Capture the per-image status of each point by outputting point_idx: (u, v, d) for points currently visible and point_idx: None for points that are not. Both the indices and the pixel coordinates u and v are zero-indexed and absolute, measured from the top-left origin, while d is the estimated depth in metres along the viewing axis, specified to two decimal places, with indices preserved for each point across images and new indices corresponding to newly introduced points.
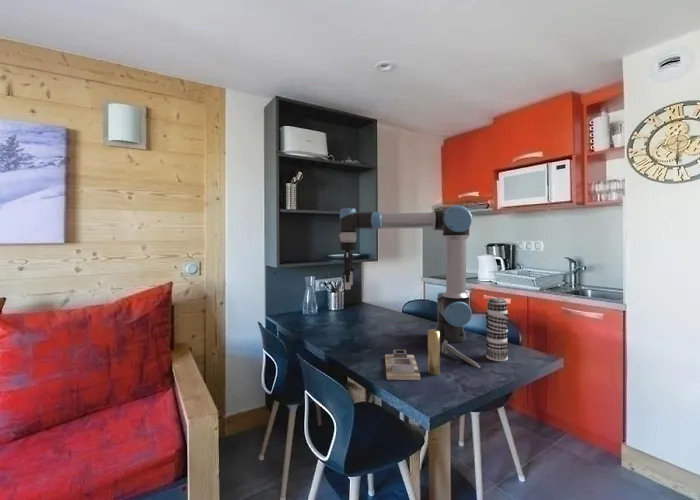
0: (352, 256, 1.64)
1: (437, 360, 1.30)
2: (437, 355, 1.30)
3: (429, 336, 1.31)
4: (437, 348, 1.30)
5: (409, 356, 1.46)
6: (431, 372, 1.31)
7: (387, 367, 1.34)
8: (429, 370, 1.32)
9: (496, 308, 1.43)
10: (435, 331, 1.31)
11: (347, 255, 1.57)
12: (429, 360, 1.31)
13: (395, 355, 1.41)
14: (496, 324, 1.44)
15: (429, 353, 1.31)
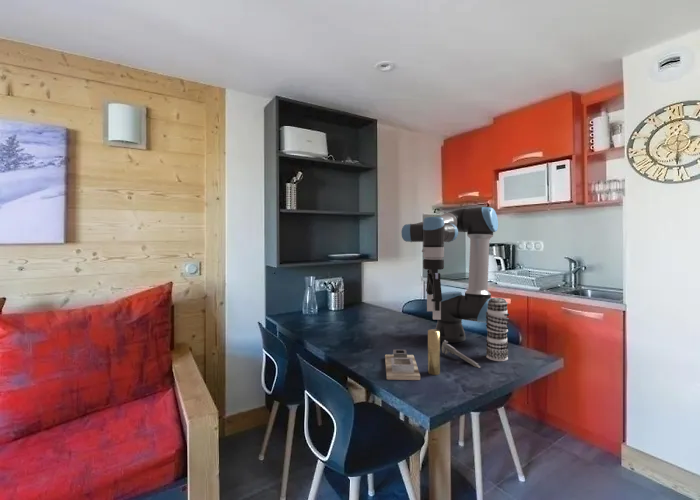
0: None
1: (437, 360, 1.30)
2: (437, 355, 1.30)
3: (429, 336, 1.31)
4: (437, 348, 1.30)
5: (409, 356, 1.46)
6: (431, 372, 1.31)
7: (387, 367, 1.34)
8: (429, 370, 1.32)
9: (496, 308, 1.43)
10: (435, 331, 1.31)
11: (437, 276, 1.24)
12: (429, 360, 1.31)
13: (395, 355, 1.41)
14: (496, 324, 1.44)
15: (429, 353, 1.31)
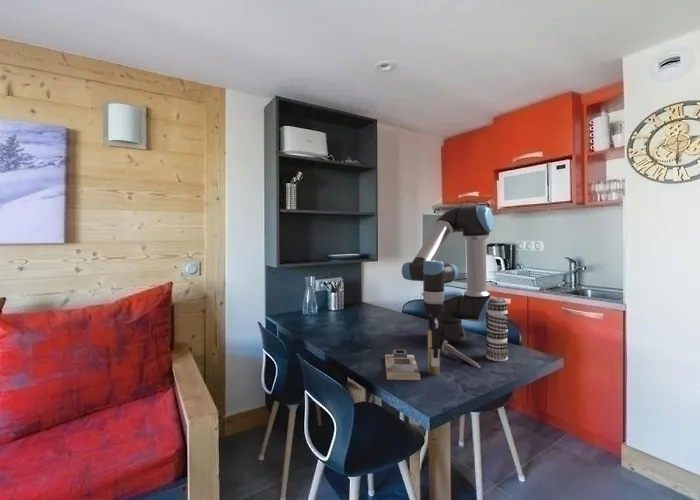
0: None
1: None
2: None
3: (429, 336, 1.31)
4: None
5: (409, 356, 1.46)
6: (431, 372, 1.31)
7: (387, 367, 1.34)
8: (429, 370, 1.32)
9: (496, 308, 1.43)
10: None
11: (437, 326, 1.25)
12: (429, 360, 1.31)
13: (395, 355, 1.41)
14: (496, 324, 1.44)
15: (429, 353, 1.31)
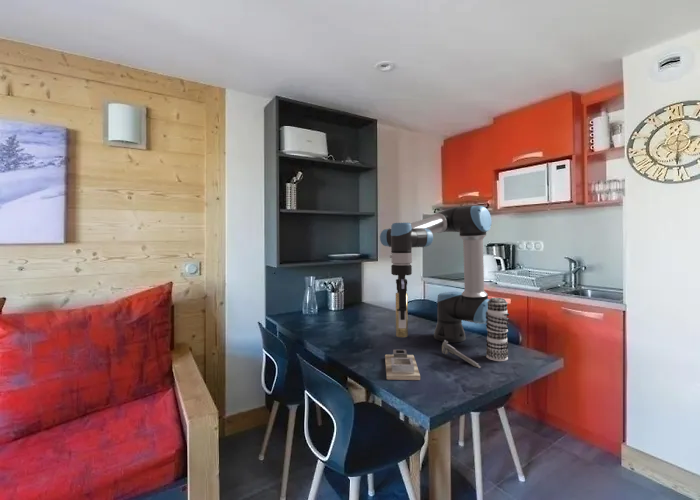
0: None
1: None
2: None
3: (397, 299, 1.30)
4: None
5: (409, 356, 1.46)
6: (398, 335, 1.30)
7: (387, 367, 1.34)
8: (397, 333, 1.31)
9: (496, 308, 1.43)
10: None
11: (403, 287, 1.25)
12: (397, 323, 1.30)
13: (395, 355, 1.41)
14: (496, 324, 1.44)
15: (397, 316, 1.30)
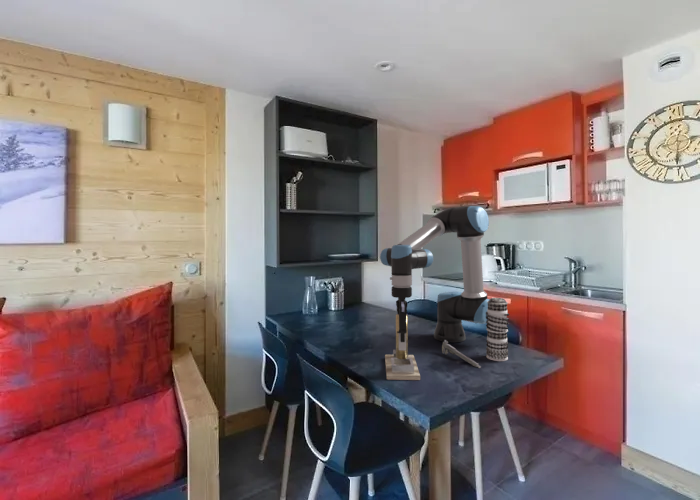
0: None
1: None
2: None
3: (397, 321, 1.30)
4: None
5: (409, 356, 1.46)
6: (398, 356, 1.30)
7: (387, 367, 1.34)
8: (397, 354, 1.31)
9: (496, 308, 1.43)
10: None
11: (403, 310, 1.25)
12: (397, 344, 1.31)
13: (395, 355, 1.41)
14: (496, 324, 1.44)
15: (397, 337, 1.30)
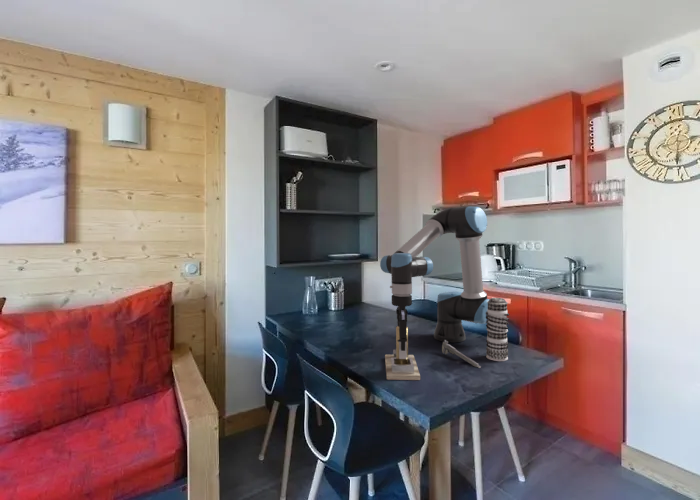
0: None
1: None
2: None
3: (397, 333, 1.31)
4: None
5: (409, 356, 1.46)
6: None
7: (387, 367, 1.34)
8: None
9: (496, 308, 1.43)
10: None
11: (403, 318, 1.25)
12: (397, 356, 1.31)
13: (395, 355, 1.41)
14: (496, 324, 1.44)
15: (397, 349, 1.31)
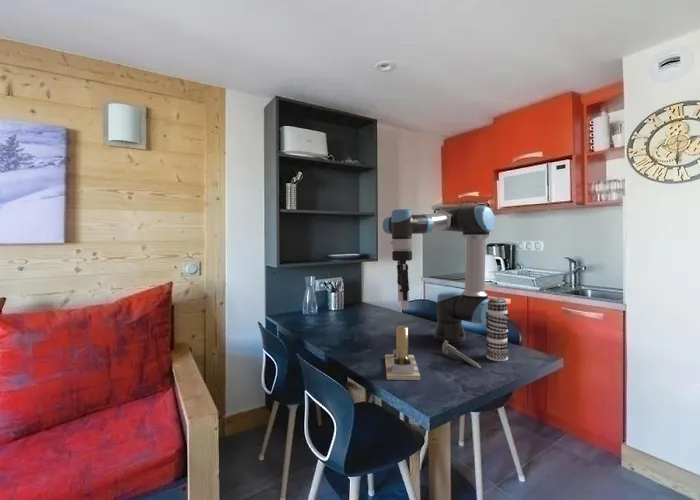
0: None
1: (405, 357, 1.30)
2: (405, 352, 1.30)
3: (397, 333, 1.31)
4: (405, 345, 1.30)
5: (409, 356, 1.46)
6: None
7: (387, 367, 1.34)
8: None
9: (496, 308, 1.43)
10: (403, 328, 1.31)
11: (404, 267, 1.27)
12: (397, 356, 1.31)
13: (395, 355, 1.41)
14: (496, 324, 1.44)
15: (397, 350, 1.31)
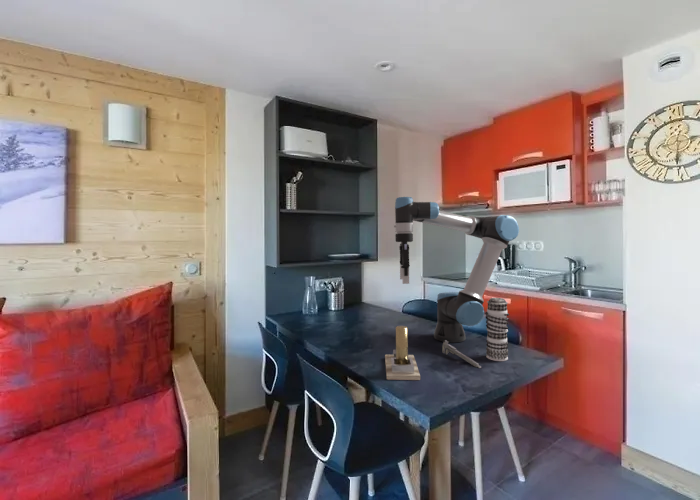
0: None
1: (405, 357, 1.30)
2: (405, 352, 1.30)
3: (397, 333, 1.31)
4: (404, 345, 1.30)
5: (409, 356, 1.46)
6: None
7: (387, 367, 1.34)
8: None
9: (496, 308, 1.43)
10: (403, 328, 1.31)
11: (405, 247, 1.46)
12: (397, 357, 1.31)
13: (395, 355, 1.41)
14: (496, 324, 1.44)
15: (397, 350, 1.31)
